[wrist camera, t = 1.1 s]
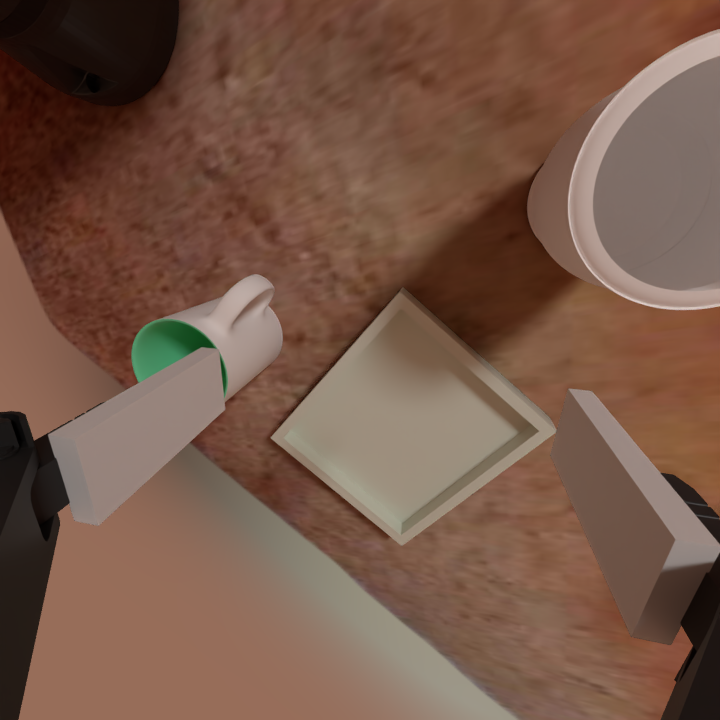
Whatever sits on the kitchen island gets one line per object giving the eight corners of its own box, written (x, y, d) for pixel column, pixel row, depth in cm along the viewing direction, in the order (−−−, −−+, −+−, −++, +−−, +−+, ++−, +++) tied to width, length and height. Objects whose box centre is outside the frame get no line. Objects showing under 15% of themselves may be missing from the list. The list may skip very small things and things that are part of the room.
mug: (247, 241, 35) (174, 249, 26) (318, 294, 36) (271, 322, 26) (196, 338, 40) (118, 376, 30) (258, 384, 40) (201, 436, 31)
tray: (280, 425, 41) (270, 437, 39) (402, 286, 34) (399, 291, 31) (404, 528, 43) (401, 545, 40) (549, 417, 35) (557, 431, 33)
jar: (503, 267, 31) (548, 305, 18) (522, 122, 28) (599, 29, 14) (647, 271, 29) (825, 319, 16) (688, 116, 26) (966, 0, 12)
